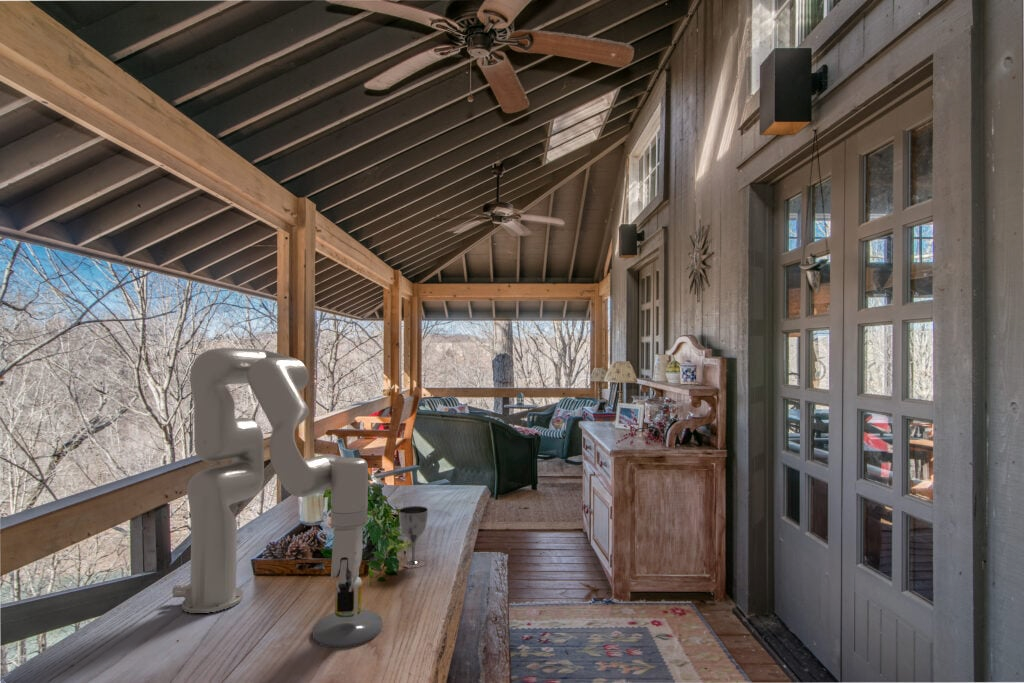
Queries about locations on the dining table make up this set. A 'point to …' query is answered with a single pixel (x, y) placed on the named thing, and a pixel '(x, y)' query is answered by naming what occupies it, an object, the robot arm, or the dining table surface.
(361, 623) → the smooth grey river stone
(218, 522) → the robot arm
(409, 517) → the wine glass
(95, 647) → the dining table surface
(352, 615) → the supplement bottle
